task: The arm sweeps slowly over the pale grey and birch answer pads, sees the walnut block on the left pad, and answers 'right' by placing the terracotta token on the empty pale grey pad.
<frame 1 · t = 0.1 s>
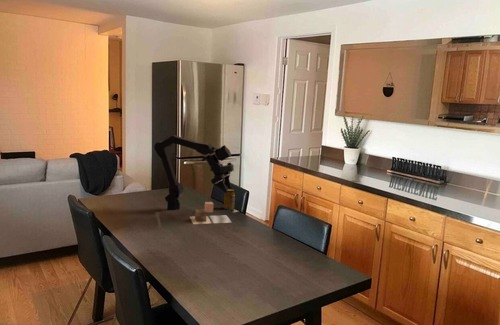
hand: (228, 190, 211), 15 cm above the table, tool tilted 30°, fingers open, 9 cm apart
condiment: (229, 210, 226), on the table
walnut block: (200, 219, 203), point 1 cm above the table, touching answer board
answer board: (210, 221, 205), on the table
terracotta token: (208, 213, 219), on the table
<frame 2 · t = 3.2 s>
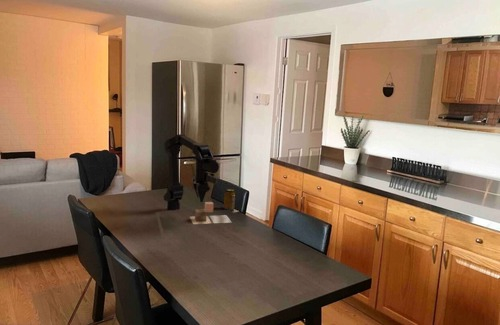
hand: (199, 199, 201), 12 cm above the table, tool pointing down, fingers open, 9 cm apart
nothing on the table moved.
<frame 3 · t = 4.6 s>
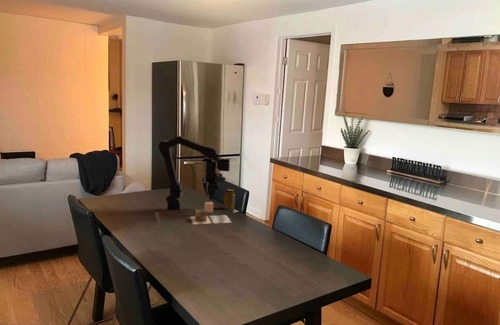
hand: (209, 197, 217), 9 cm above the table, tool pointing down, fingers open, 9 cm apart
nothing on the table moved.
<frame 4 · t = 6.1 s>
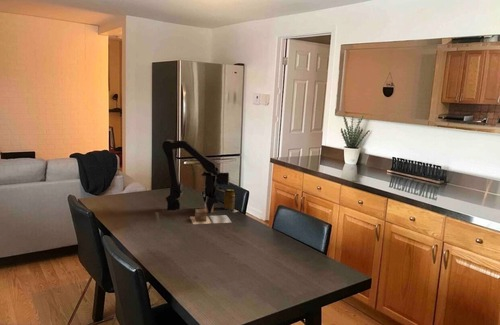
hand: (208, 211, 218), 1 cm above the table, tool pointing down, fingers closed on terracotta token, 4 cm apart
terracotta token: (208, 213, 219), on the table, touching gripper
everything else where it was.
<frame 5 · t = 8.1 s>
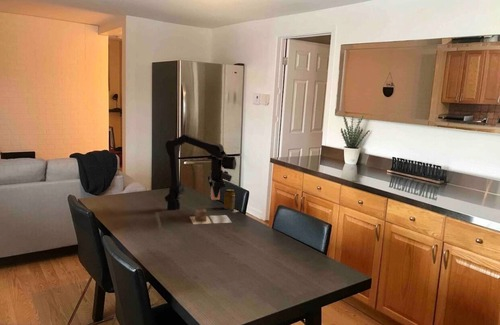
hand: (215, 196, 211), 11 cm above the table, tool pointing down, fingers closed on terracotta token, 4 cm apart
terracotta token: (215, 198, 212), point 10 cm above the table, touching gripper
everything else where it was.
when the fingers open (3 cm above the table, at t = 10.4 s): terracotta token drops 1 cm, resting on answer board.
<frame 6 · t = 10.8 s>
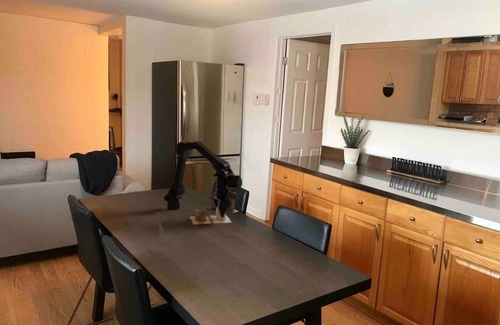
hand: (220, 214, 206), 3 cm above the table, tool pointing down, fingers open, 8 cm apart
terracotta token: (220, 219, 206), point 1 cm above the table, touching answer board
everything else where it was.
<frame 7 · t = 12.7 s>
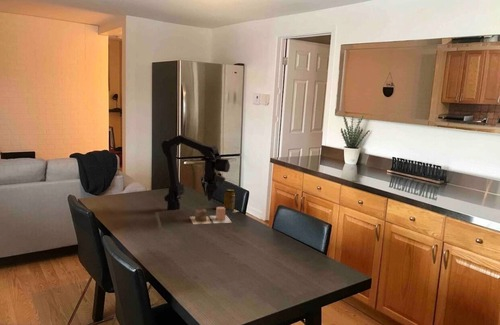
hand: (207, 198, 210), 10 cm above the table, tool pointing down, fingers open, 9 cm apart
nothing on the table moved.
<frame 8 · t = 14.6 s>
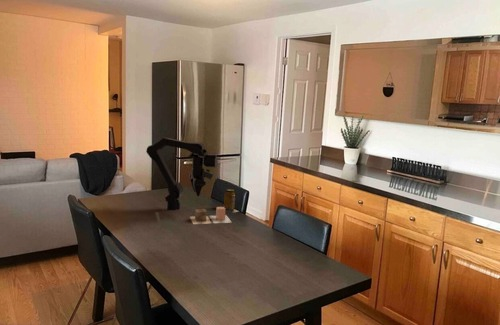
hand: (196, 193, 215), 11 cm above the table, tool pointing down, fingers open, 9 cm apart
nothing on the table moved.
at the end: terracotta token inside the target area (0.1 cm from its centre), point 1.2 cm above the table; terracotta token tilted 0°; terracotta token touching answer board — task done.
